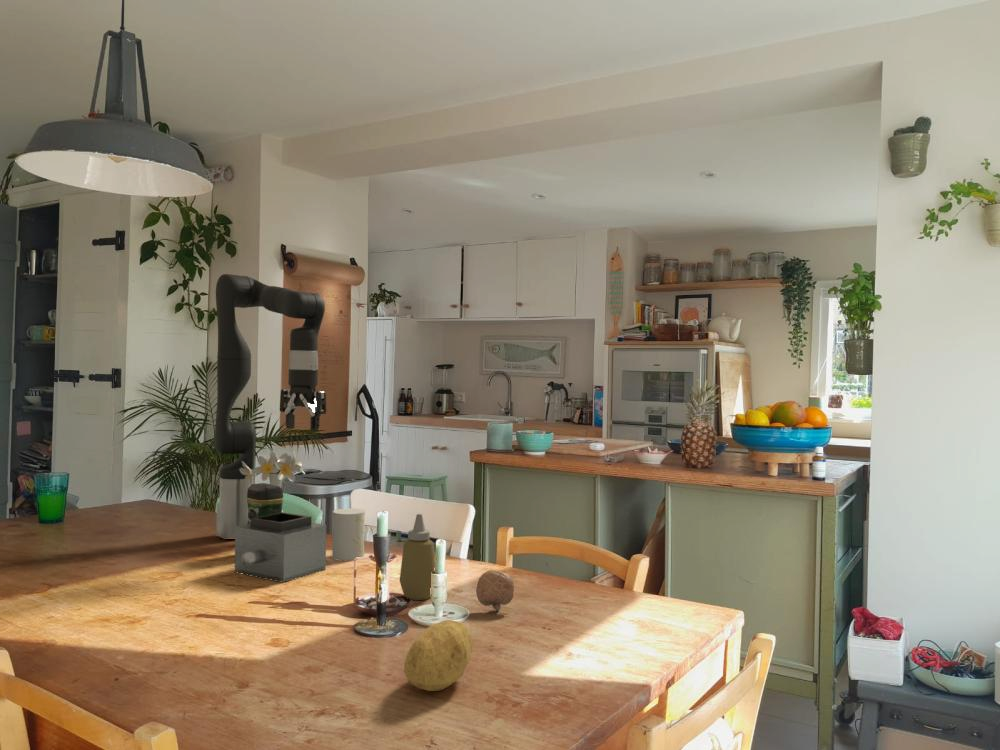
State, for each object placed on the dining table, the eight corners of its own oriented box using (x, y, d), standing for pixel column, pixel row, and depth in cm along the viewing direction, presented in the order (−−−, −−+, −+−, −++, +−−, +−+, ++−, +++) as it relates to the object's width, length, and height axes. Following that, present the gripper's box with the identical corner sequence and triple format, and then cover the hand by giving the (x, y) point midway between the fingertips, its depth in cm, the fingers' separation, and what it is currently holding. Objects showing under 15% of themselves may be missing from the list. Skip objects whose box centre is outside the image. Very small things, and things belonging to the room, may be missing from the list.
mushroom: (518, 610, 163) (519, 571, 163) (502, 617, 158) (503, 578, 158) (489, 603, 167) (489, 566, 167) (472, 610, 162) (472, 572, 162)
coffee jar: (287, 555, 206) (288, 484, 206) (260, 560, 200) (261, 487, 200) (268, 548, 213) (269, 480, 213) (241, 553, 207) (242, 483, 207)
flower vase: (231, 542, 220) (233, 452, 220) (287, 532, 234) (288, 448, 234) (258, 549, 212) (260, 456, 211) (314, 538, 226) (315, 452, 226)
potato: (489, 680, 126) (490, 621, 126) (423, 709, 115) (424, 644, 115) (445, 664, 133) (446, 608, 133) (379, 689, 122) (380, 628, 122)
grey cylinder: (360, 561, 201) (361, 514, 201) (329, 560, 201) (329, 513, 201) (366, 553, 209) (367, 508, 209) (336, 552, 210) (337, 508, 209)
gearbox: (221, 576, 184) (222, 521, 184) (277, 560, 200) (278, 509, 200) (270, 586, 176) (271, 529, 176) (325, 569, 192) (326, 516, 192)
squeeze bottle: (430, 603, 166) (431, 518, 166) (394, 600, 168) (395, 516, 168) (440, 593, 174) (442, 512, 174) (406, 590, 176) (407, 510, 176)
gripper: (273, 367, 207) (272, 429, 207) (313, 368, 200) (312, 432, 200) (293, 367, 213) (292, 427, 213) (333, 368, 206) (332, 430, 206)
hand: (302, 429), depth 207 cm, fingers open, 8 cm apart
